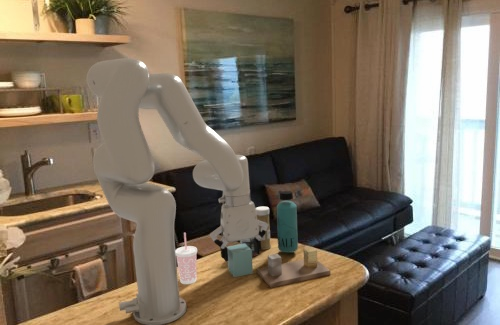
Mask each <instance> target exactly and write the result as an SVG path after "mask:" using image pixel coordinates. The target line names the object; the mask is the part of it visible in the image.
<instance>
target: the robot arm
mask: <svg viewBox="0 0 500 325" xmlns="http://www.w3.org/2000/svg"><path fill="white" fill-rule="evenodd" d="M86 84H87V87H88V88H89V90H90V92H91V93H92V94H93V95H94V96H96V97H97V98H99V99H100V100H99V104H98V108H97V113H96V114H97V116H96V120H97V122H96V123H97V126H98V130H99V133H100V136H101V139H102V141H103V142H102V143H101V144H100V145H98V147H97V148H96V149H95V150H94V153H93V158H92V166H93V170H94V171H93V172H94V175H95V177H96V178H97V181H98V183H99V185H100V188H101V190H102V192H103V195H104V196H105V197H104V198H106V200H107V203H108V206H109V207H110V209H111V210H112V211H113V213H114V214H116V216H118V217H119V218H121V219H124V220H127V221H130V222H132V223H133V222H134V223H135V224H136V228H135V232H134V236H133V240H132V243H133V244H132V248H133V255H134V265H135V266H134V267H135V274H136V275H135V276H136V286H137V287H136V288H137V293H135V294H136V297H135V298H132V300H127V301H125V300H124V301H121V302H119V303H118V304H119V306H118V307H119V311H120V312H121V311H125V314H126V315H127V314H131V313H132V314H133V318H134V320H135V321H136V322H138V323H139V324H142V325H165V324H169V323H172V322H174V321H176V320H178V319H180V318H181V317H182V316H184V314H186V311H187V306H188V305H187V302H186V300H185V299H184V298H183V297H181V296H180V292H179V291H180V290H179V288H180V287H179V280H178V279H179V278H178V264H177V257H176V253H175V250H176V243H175V221H176V220H175V219H176V213H177V212H176V210H177V208H176V207H177V203H176V200H175V199H176V198H175V197H174V196H173V195H174V194H172V192H170V190H168V189H167V188H165V187H163V186H161V185H158V184H154V183H150V182H149V181H150V180H151V179H152V178H153V177H154V175H155V169H156V168H155V165H156V164H155V160H154V157H153V155H152V154H153V153H152V152H151V148H150V147H149V145H148V142H147V139H146V137H145V134H144V132H143V128H142V126H141V122H140V121H141V120H140V118H139V110H140V109H143V110H155V111H157V113H158V114H159V116H160V117H161V119H162V121H163V123H164V124H165V125H166V127H167V129H168V131H169V132H170V134H171V135H172V138H173V140H174V141H175V142H176V143H178V144H179V145H180V146H182V147H183V148H186V149H188V150H189V151H191V152H193V153H195V154H197V155H199V156H200V157H202V159H204V160H201V161H200V162H198V163H197V164H196V165H195V166H194V168H193V169H192V179H193V182H195V184H197V185H198V186H199V187H201V188H205V189H210V190H217V191H221V192H222V196H221V197H219V198H218V203H219V204H221V203H222V205H221V212H220V226H219V227H217V228H216V229H215V230H213V231H211V232H210V233H209V237H210V238H211V239H212V241H213V243H214V244H215V245H217V246H218V247H219V249H220V256H221V259H223V260H224V261H225V262H227V263H228V250H227V245H228V243H233V242H238V241H239V242H240V240H244V239H249V238H253V237H255V238H254V239H253V242H254V251H255V252H256V253H257V254H258V255H260V254H261V250H262V249H261V240H262V237H263V236H264V235H265V233H266V230H267V228H268V224H267V223H266V222H263V221H260V220H257V214H256V209H255V208H256V206H255V203H254V201H252V200H251V189H250V188H251V187H250V176H249V175H250V174H249V162H248V158H247V157H246V156H245V155H242V154H236V153H235V151H234V149H233V148H232V147H231V146H230V144H229V143H228V142H227V141H226V140H225V139H224V138H223V137H221V136H220V135H219V134H218V133H217V132H216V131H215V130H214V129H212V128H211V127H210V126H209V125H208V124H206V122H205V120H204V119H203V116H202V115H201V113H200V111H199V110H198V108H197V105H196V104H195V102H194V101H193V98H192V95H191V94H190V92H189V91H188V89H187V87H186V86H185V84H184V82H183V81H182V79H181V78H180V77H179V76H177V75H176V74H173V73H169V72H168V73H163V72H161V73H151V74H150V72H149V68H148V66H147V65H146V64H145V62H143V61H142V60H139V59H137V58H131V57H129V58H128V57H124V58H123V57H122V58H116V59H108V60H101V61H98V62H96V63H94V64H93V65H91V67H90V68H89V69H88V71H87V73H86ZM148 182H149V183H148ZM258 225H259V226H262V228H261V230H260V231H259V227H258ZM220 234H221V239H218V236H219V235H220Z"/></svg>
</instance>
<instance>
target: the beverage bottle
mask: <svg viewBox="0 0 500 325" xmlns="http://www.w3.org/2000/svg"><path fill="white" fill-rule="evenodd" d="M279 199H280V200H281V201H280V202H279V203H278V204H277V205H276V226H277V235H276V236H277V241H276V242H277V248H278V250H279V251H280V252H283V253H294V252H296V251H297V250H298V248H299V244H298V243H299V240H298V237H299V236H298V214H297V213H298V212H297V207H298V206H297V204H296V203H295V202H294V201H292V200H293V199H294V194H293V191H291V190H282V191H280V192H279Z"/></svg>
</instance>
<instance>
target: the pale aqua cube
mask: <svg viewBox="0 0 500 325" xmlns="http://www.w3.org/2000/svg"><path fill="white" fill-rule="evenodd" d="M226 248H227V250H228V261H227V270H228V272H229V273H230V274H231V275H232V276H233V277H234V278H237V277H242V276H247V275H253V274H254V268H253V257H252V250H251V249H250V248H249V247H248V246H247V245H246V244H245V243H244V244H240V243H239V244H235V245H229V246H226Z"/></svg>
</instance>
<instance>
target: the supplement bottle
mask: <svg viewBox="0 0 500 325" xmlns="http://www.w3.org/2000/svg"><path fill="white" fill-rule="evenodd" d="M254 238H255V237H253V238H249V239H244V240H240V241H239V244H244V243H245V244H246V245H247V246H248V247H249V248H250V249H251V250H252V258H253V257H256V256H258V255H259V254H257V253H256V252H255V251H254V242H253V239H254Z"/></svg>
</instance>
